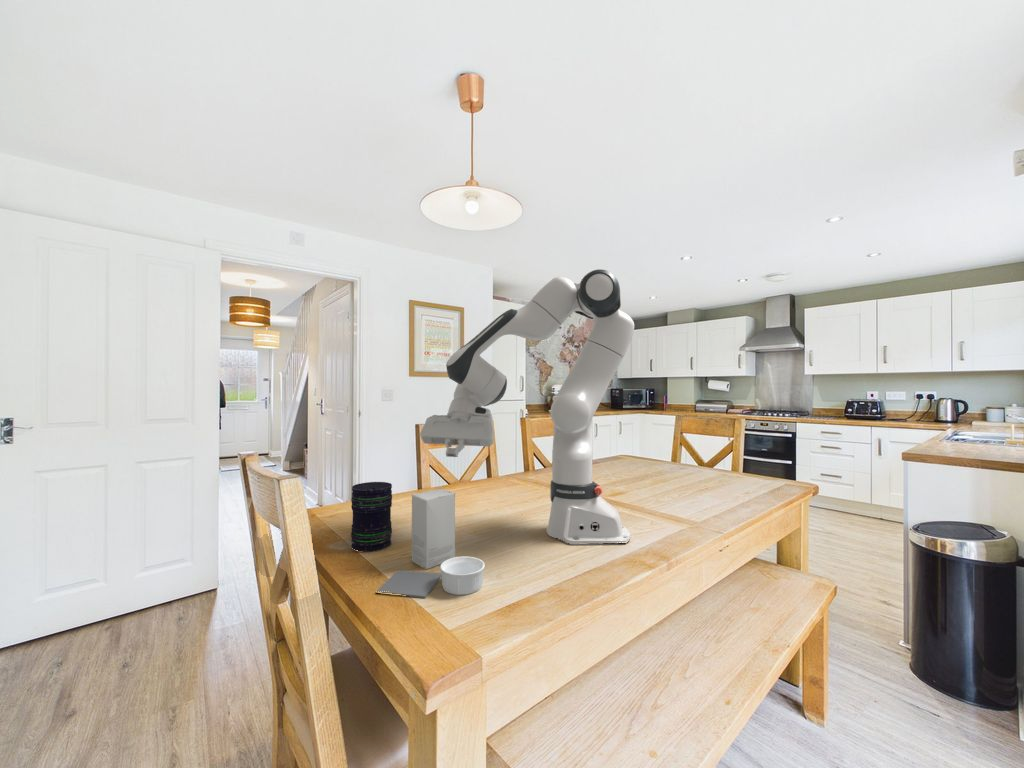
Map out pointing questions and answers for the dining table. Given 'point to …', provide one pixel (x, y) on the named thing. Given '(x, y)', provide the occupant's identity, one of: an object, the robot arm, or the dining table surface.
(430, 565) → the skincare box
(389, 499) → the black cylinder
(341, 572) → the dining table surface
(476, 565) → the ramekin
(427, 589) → the mat
